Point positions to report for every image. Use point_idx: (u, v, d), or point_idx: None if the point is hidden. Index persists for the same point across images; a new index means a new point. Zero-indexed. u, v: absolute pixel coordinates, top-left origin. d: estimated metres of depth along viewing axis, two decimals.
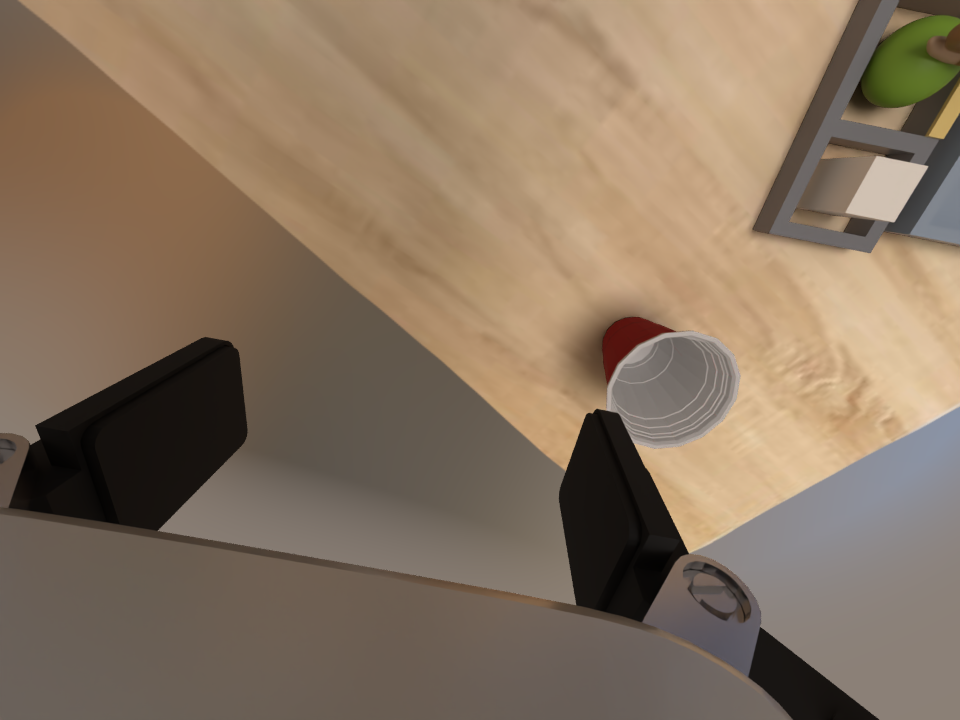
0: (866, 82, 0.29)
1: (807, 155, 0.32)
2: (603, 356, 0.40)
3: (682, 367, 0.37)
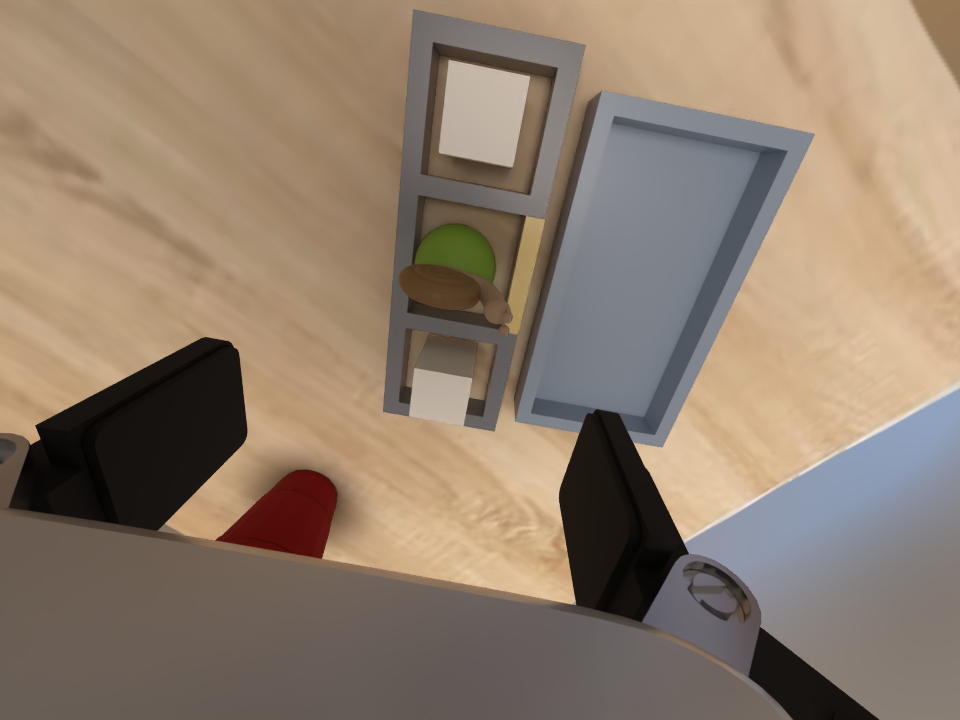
0: None
1: (389, 344, 0.29)
2: None
3: (324, 540, 0.35)
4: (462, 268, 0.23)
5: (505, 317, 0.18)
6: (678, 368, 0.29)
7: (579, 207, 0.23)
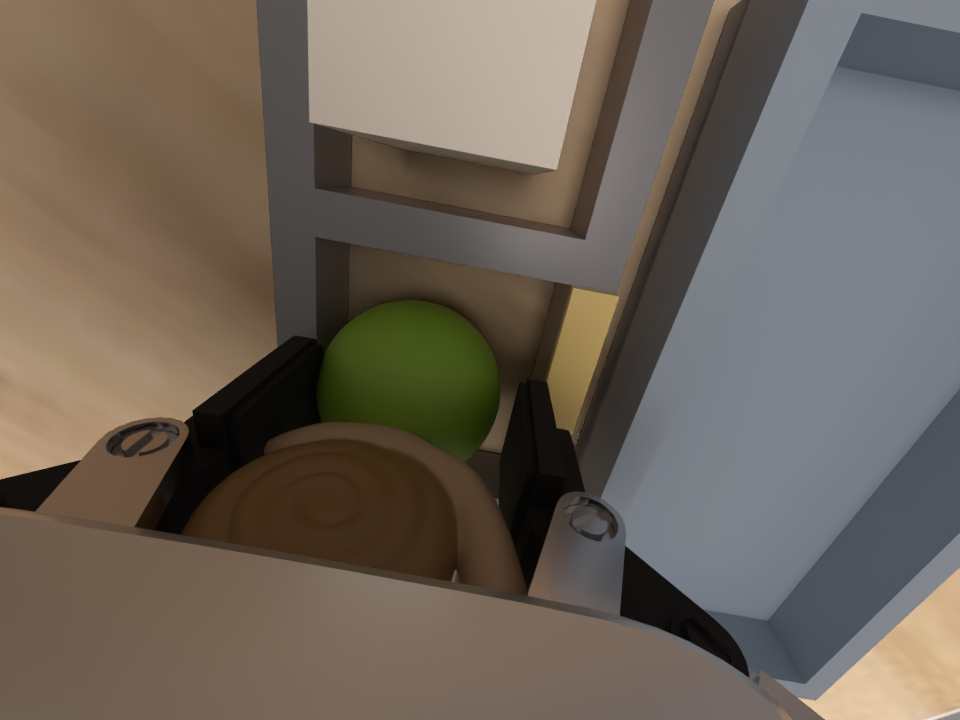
0: None
1: None
2: None
3: None
4: (417, 426, 0.09)
5: None
6: (869, 575, 0.14)
7: (715, 273, 0.09)
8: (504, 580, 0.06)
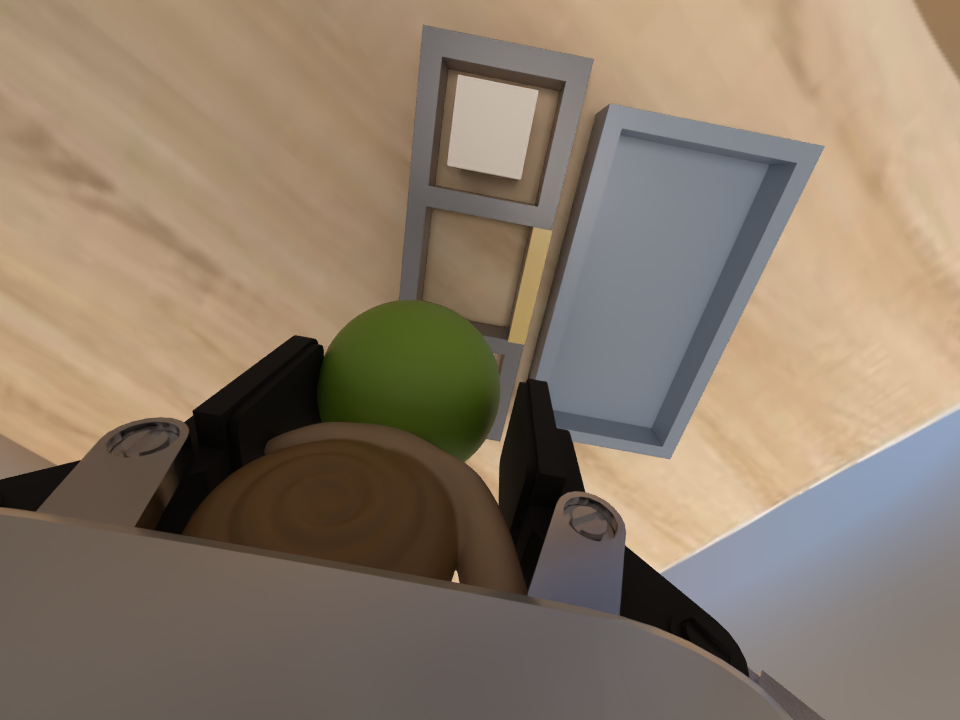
0: None
1: None
2: None
3: None
4: (417, 426, 0.09)
5: None
6: (686, 379, 0.28)
7: (586, 218, 0.23)
8: (504, 580, 0.06)
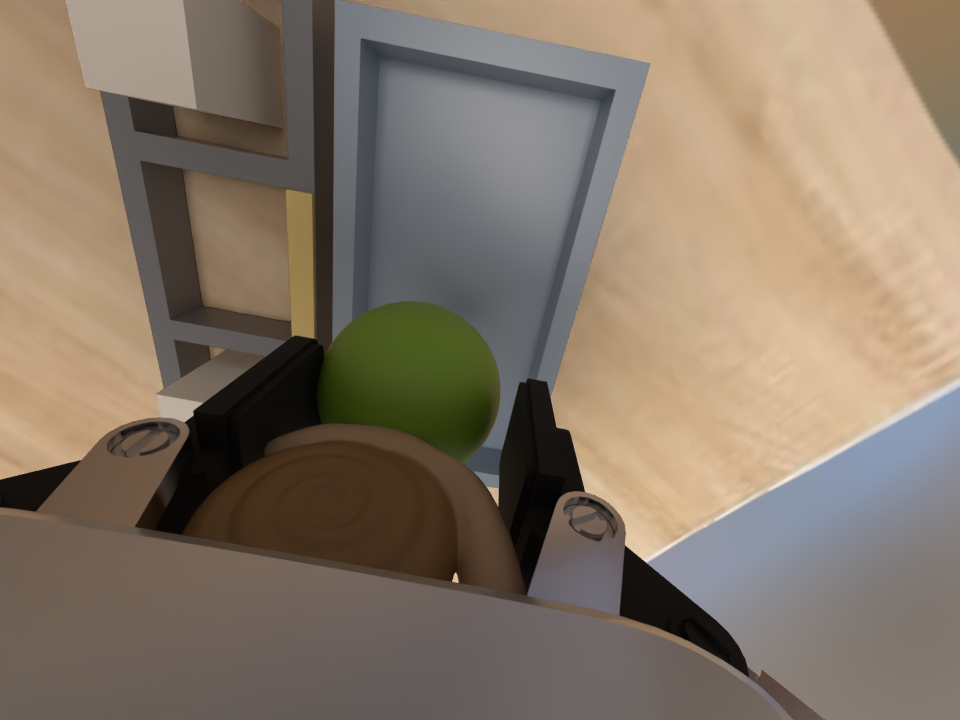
0: None
1: (160, 359, 0.23)
2: None
3: None
4: (417, 428, 0.09)
5: None
6: None
7: (344, 175, 0.17)
8: (504, 583, 0.06)
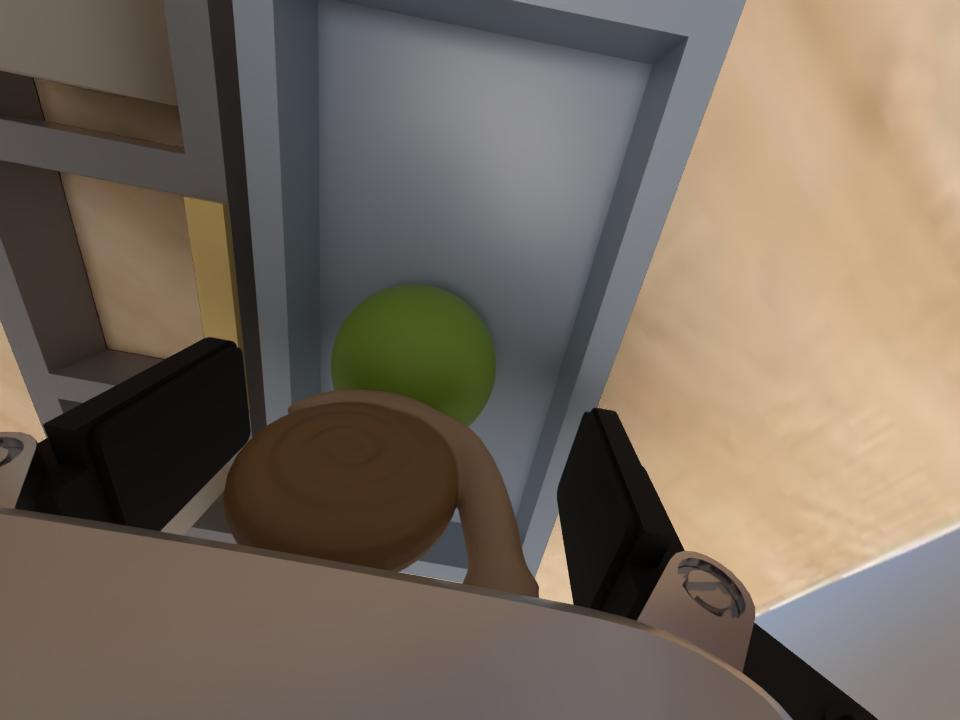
0: None
1: None
2: None
3: None
4: (422, 394, 0.11)
5: None
6: (540, 471, 0.16)
7: (262, 176, 0.11)
8: (497, 510, 0.07)
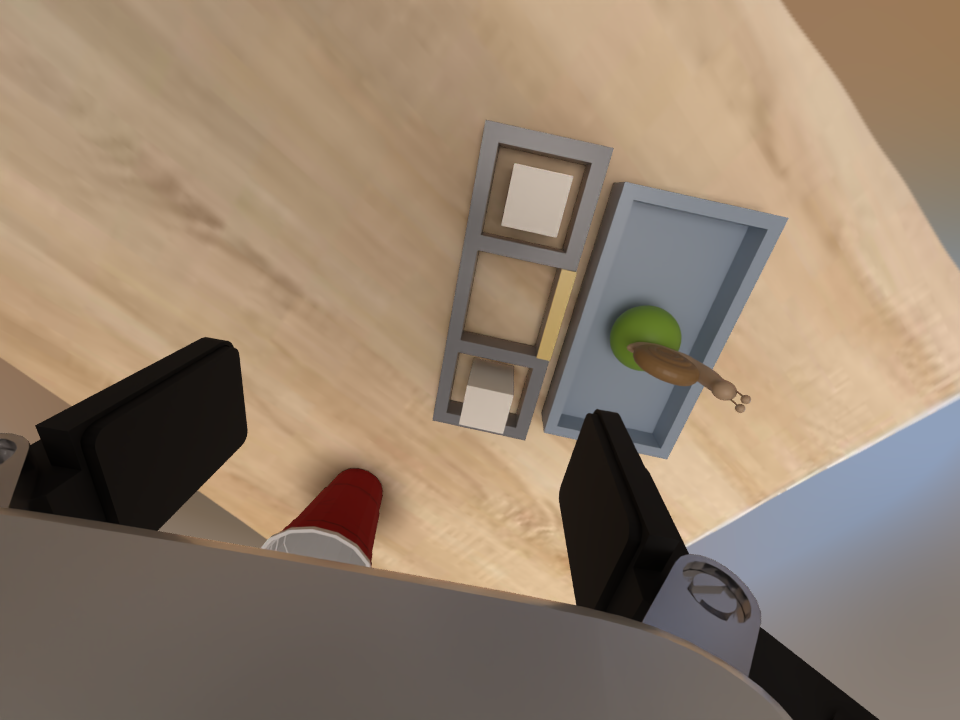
0: (610, 345, 0.33)
1: (443, 364, 0.36)
2: None
3: (374, 528, 0.41)
4: (665, 345, 0.29)
5: (746, 400, 0.23)
6: (681, 393, 0.35)
7: (604, 265, 0.30)
8: (714, 372, 0.26)
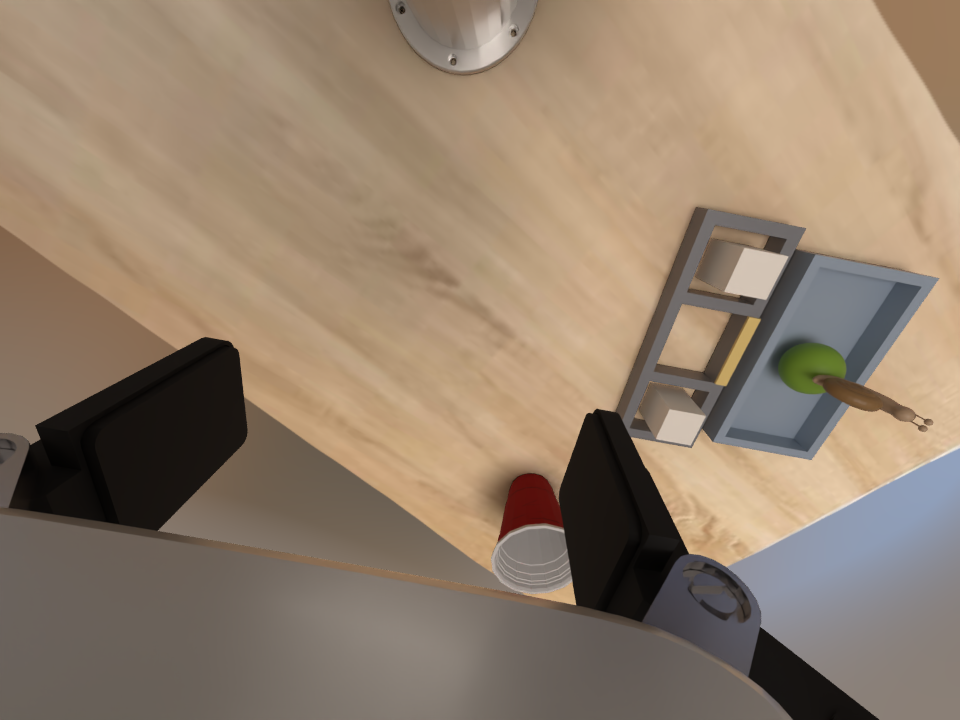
0: (780, 374, 0.41)
1: (635, 390, 0.44)
2: None
3: None
4: (838, 376, 0.38)
5: (930, 423, 0.32)
6: (828, 408, 0.43)
7: (787, 314, 0.38)
8: (891, 399, 0.35)
